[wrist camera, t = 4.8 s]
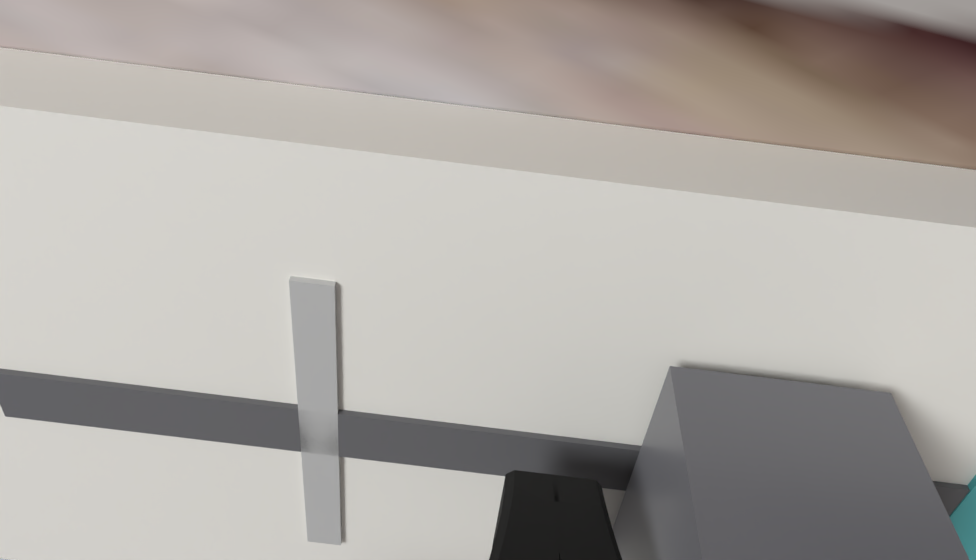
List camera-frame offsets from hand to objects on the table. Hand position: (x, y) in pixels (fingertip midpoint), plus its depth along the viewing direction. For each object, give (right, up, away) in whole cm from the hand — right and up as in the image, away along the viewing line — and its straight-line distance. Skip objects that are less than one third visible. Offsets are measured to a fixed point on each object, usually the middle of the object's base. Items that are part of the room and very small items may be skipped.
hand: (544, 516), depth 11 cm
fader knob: (+3, 0, +1) cm, 3 cm away
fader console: (+1, +2, +2) cm, 3 cm away
